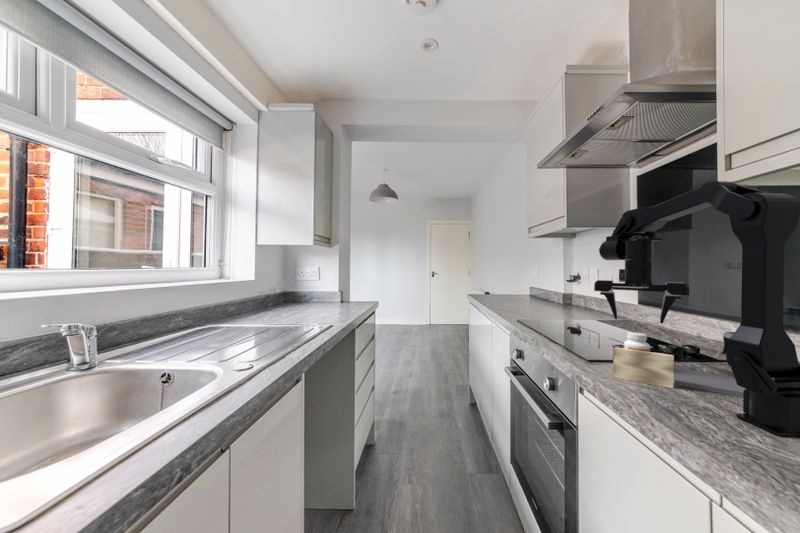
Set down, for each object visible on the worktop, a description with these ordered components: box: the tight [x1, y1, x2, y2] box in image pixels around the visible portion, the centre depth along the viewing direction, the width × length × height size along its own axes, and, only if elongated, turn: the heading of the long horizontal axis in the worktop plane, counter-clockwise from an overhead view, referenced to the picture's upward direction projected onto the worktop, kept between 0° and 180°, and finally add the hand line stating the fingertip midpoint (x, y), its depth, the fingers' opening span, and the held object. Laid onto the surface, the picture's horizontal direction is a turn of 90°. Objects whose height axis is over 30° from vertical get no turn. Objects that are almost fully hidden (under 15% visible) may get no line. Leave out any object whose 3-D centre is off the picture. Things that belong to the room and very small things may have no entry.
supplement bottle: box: [623, 331, 651, 352], centre depth 80 cm, size 5×5×10 cm
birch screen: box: [612, 346, 675, 389], centre depth 73 cm, size 11×2×7 cm, turn 53°
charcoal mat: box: [673, 367, 746, 398], centre depth 72 cm, size 12×12×1 cm
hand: (637, 321), depth 80 cm, fingers open, 9 cm apart
